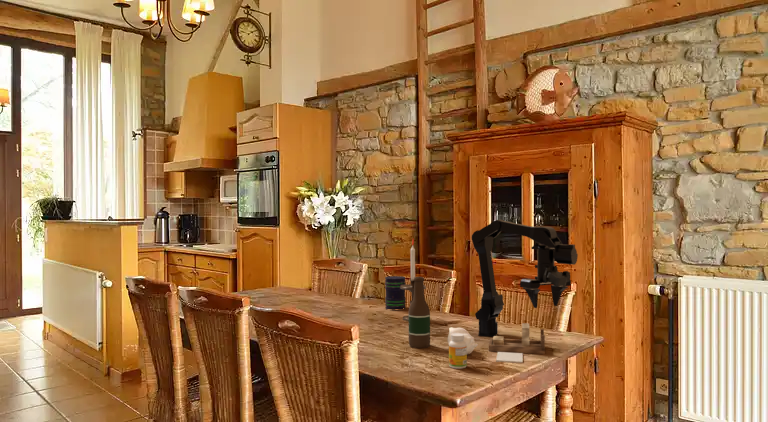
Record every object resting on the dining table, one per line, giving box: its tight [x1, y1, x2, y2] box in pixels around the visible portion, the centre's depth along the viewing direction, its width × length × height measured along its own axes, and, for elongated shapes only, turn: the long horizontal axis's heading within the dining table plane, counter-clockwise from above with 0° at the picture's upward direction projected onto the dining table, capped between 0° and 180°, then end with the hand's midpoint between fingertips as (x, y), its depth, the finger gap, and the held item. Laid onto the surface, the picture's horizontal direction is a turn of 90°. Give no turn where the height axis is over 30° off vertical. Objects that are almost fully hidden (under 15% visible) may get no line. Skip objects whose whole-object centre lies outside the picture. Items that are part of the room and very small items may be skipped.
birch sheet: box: [521, 322, 530, 347], centre depth 186 cm, size 2×8×7 cm, turn 166°
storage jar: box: [384, 275, 407, 310], centre depth 263 cm, size 10×10×15 cm
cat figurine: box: [447, 326, 479, 355], centre depth 182 cm, size 9×11×12 cm
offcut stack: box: [492, 335, 505, 345], centre depth 188 cm, size 4×7×2 cm, turn 166°
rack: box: [488, 328, 546, 355], centre depth 187 cm, size 18×10×6 cm, turn 76°
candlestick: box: [400, 237, 427, 322], centre depth 237 cm, size 11×11×35 cm
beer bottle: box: [408, 276, 431, 349], centre depth 192 cm, size 8×8×24 cm
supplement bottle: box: [448, 333, 468, 370], centre depth 167 cm, size 5×5×10 cm
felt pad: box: [495, 352, 524, 364], centre depth 176 cm, size 8×10×1 cm
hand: (545, 306), depth 193 cm, fingers open, 9 cm apart
